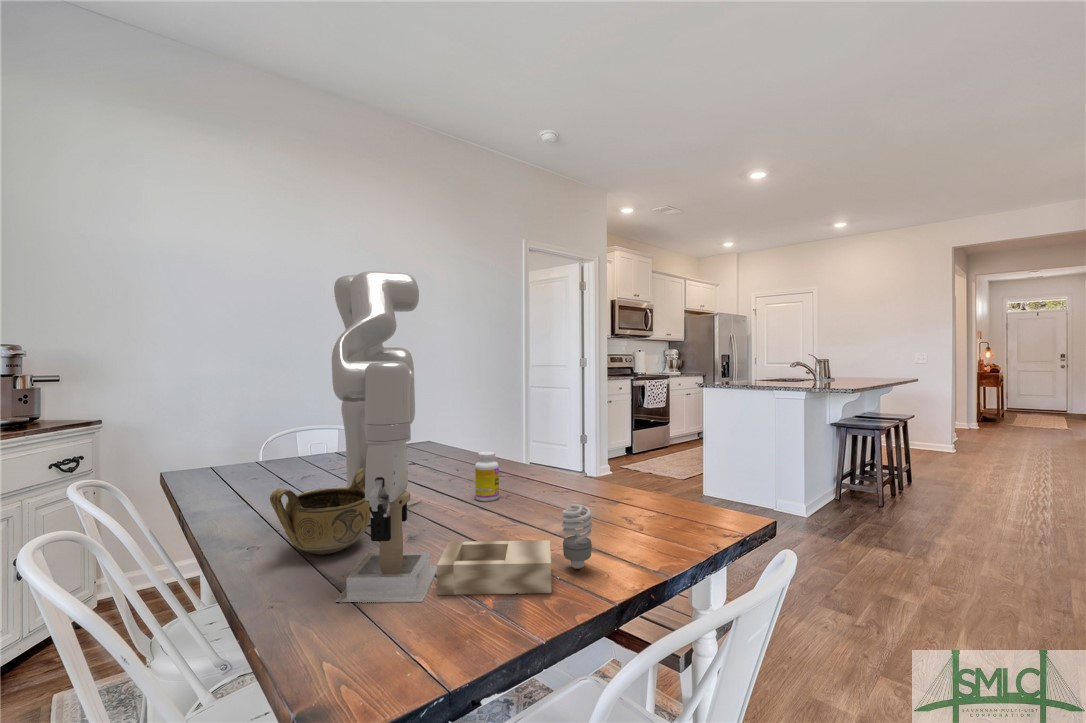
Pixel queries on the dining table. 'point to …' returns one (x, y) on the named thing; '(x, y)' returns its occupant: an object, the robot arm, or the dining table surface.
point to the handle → (394, 538)
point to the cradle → (389, 580)
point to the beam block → (495, 568)
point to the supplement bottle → (486, 477)
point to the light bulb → (577, 535)
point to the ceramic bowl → (324, 516)
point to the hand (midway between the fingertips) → (390, 530)
